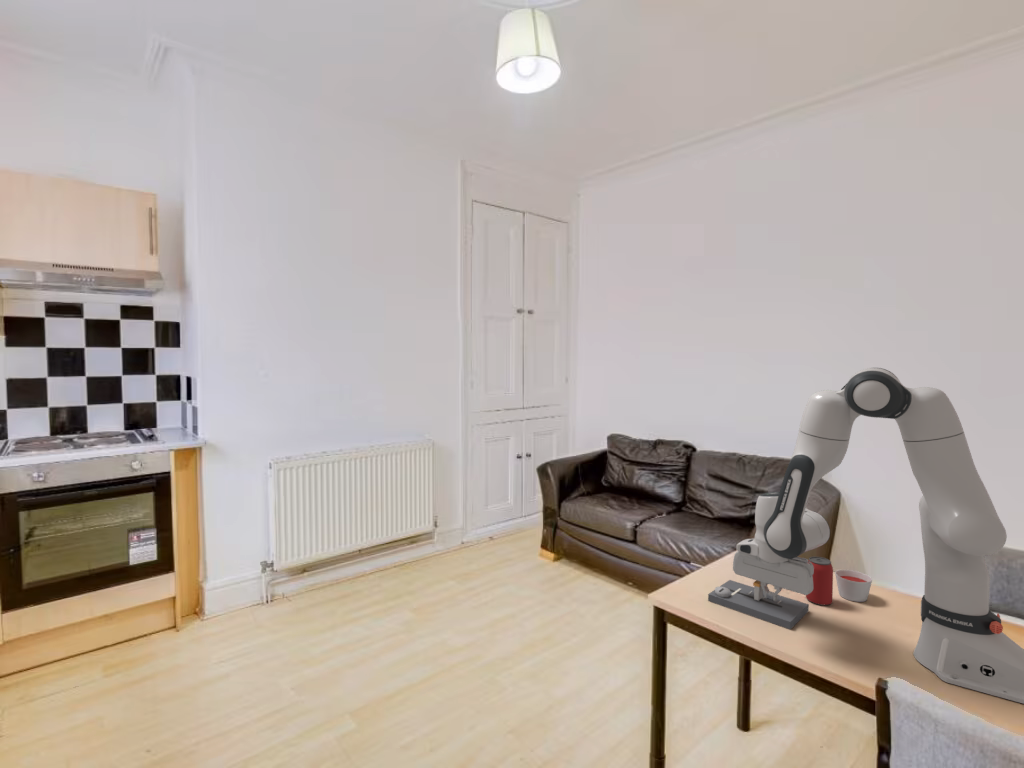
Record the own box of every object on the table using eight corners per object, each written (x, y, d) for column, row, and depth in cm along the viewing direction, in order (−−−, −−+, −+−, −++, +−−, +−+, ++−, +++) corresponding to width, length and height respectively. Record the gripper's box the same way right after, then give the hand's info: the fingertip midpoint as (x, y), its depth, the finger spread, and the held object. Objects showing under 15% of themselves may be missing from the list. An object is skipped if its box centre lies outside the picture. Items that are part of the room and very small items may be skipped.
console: (808, 611, 142) (808, 598, 142) (790, 629, 132) (790, 615, 132) (729, 586, 158) (729, 574, 158) (708, 600, 148) (708, 588, 148)
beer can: (825, 596, 151) (826, 556, 151) (837, 606, 145) (838, 564, 144) (801, 595, 152) (802, 555, 151) (812, 605, 145) (813, 564, 145)
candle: (829, 589, 156) (829, 568, 155) (861, 591, 154) (862, 570, 154) (843, 603, 147) (844, 581, 147) (878, 605, 145) (878, 583, 145)
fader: (764, 597, 146) (764, 580, 145) (758, 601, 143) (759, 584, 143) (758, 595, 147) (758, 578, 147) (753, 599, 144) (753, 582, 144)
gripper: (817, 557, 136) (816, 608, 137) (740, 538, 151) (739, 584, 152) (809, 564, 132) (808, 616, 133) (730, 543, 147) (729, 590, 148)
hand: (771, 599), depth 142 cm, fingers closed
